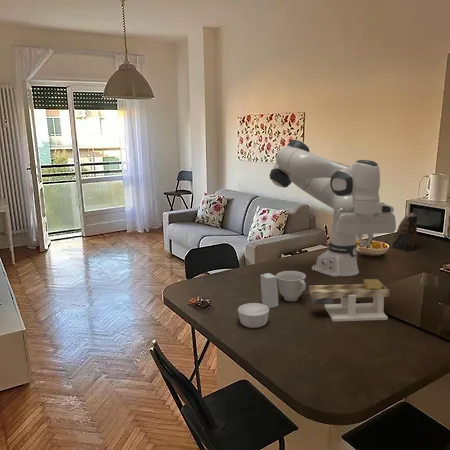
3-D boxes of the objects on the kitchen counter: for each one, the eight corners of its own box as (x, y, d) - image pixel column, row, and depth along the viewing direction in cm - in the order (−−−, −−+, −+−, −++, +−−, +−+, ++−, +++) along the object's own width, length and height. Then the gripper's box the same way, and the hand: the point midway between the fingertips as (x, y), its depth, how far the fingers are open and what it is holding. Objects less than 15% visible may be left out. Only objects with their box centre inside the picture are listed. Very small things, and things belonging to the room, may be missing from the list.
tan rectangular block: (367, 292, 146) (367, 283, 145) (363, 288, 150) (363, 279, 149) (381, 292, 146) (381, 282, 145) (377, 288, 150) (377, 279, 149)
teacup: (292, 309, 156) (292, 284, 154) (270, 297, 169) (269, 274, 167) (317, 302, 161) (317, 278, 159) (294, 291, 174) (294, 268, 172)
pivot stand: (332, 321, 144) (333, 297, 142) (324, 307, 156) (324, 285, 155) (387, 319, 143) (388, 295, 142) (374, 305, 156) (375, 283, 154)
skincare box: (278, 306, 159) (278, 276, 157) (269, 308, 157) (268, 278, 155) (270, 301, 165) (269, 272, 162) (260, 303, 163) (260, 274, 160)
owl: (410, 245, 240) (411, 211, 236) (424, 250, 228) (426, 214, 224) (390, 247, 238) (392, 213, 234) (404, 252, 226) (406, 216, 222)
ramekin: (260, 332, 138) (260, 317, 137) (232, 325, 144) (231, 311, 143) (274, 319, 147) (274, 305, 146) (247, 314, 153) (247, 300, 152)
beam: (312, 305, 145) (312, 292, 144) (308, 297, 153) (308, 285, 152) (389, 303, 145) (390, 290, 144) (381, 295, 153) (381, 283, 152)
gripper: (338, 210, 139) (337, 249, 142) (398, 207, 139) (397, 247, 142) (333, 207, 146) (333, 245, 148) (391, 204, 145) (390, 242, 148)
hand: (364, 246), depth 145 cm, fingers closed
